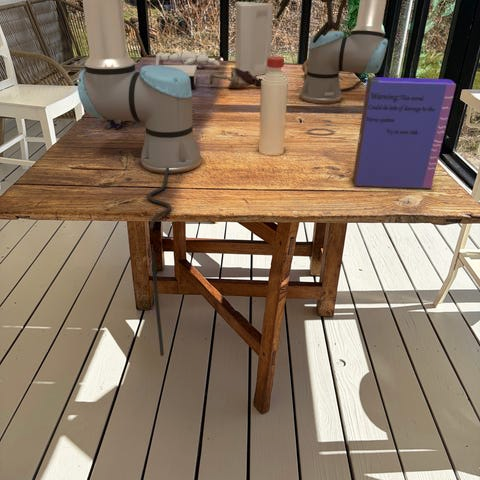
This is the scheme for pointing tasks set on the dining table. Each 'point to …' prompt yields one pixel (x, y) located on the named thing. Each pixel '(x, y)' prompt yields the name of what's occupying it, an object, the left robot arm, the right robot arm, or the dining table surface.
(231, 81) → the figurine
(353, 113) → the dining table surface
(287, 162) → the dining table surface
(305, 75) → the anatomical model
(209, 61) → the toy
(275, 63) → the cap
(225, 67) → the dining table surface
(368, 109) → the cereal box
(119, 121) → the figurine character
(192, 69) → the disc drive
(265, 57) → the tall white box
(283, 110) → the bottle
